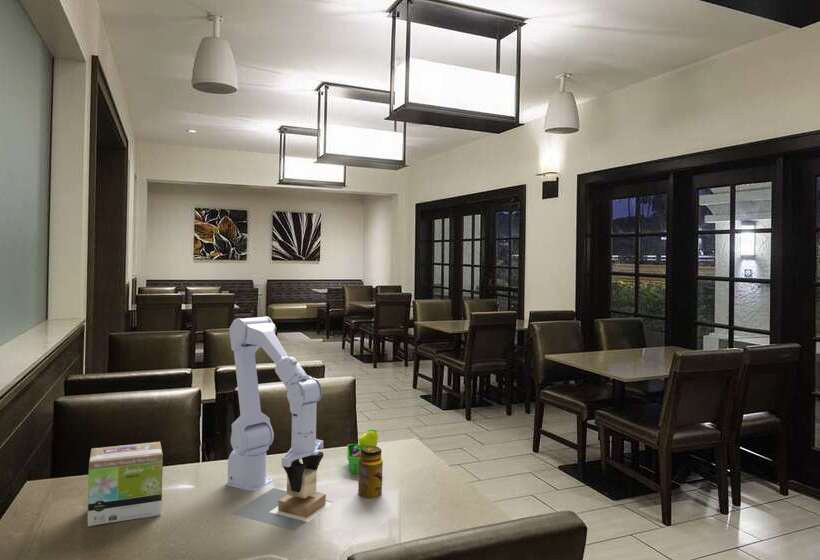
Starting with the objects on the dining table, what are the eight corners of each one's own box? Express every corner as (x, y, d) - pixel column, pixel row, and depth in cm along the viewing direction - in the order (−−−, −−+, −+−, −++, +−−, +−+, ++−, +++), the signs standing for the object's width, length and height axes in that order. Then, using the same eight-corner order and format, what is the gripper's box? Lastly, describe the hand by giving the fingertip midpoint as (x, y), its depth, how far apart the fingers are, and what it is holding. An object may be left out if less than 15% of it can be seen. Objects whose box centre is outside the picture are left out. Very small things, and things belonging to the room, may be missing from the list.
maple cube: (286, 494, 132) (286, 473, 132) (298, 487, 137) (299, 467, 137) (304, 498, 130) (304, 477, 130) (316, 490, 135) (316, 470, 135)
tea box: (86, 529, 121) (87, 462, 121) (89, 510, 130) (89, 447, 130) (162, 516, 128) (163, 452, 128) (159, 498, 137) (160, 439, 137)
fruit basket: (346, 460, 166) (347, 423, 166) (376, 460, 167) (377, 423, 167) (346, 475, 155) (347, 435, 155) (378, 475, 156) (379, 435, 156)
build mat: (230, 514, 130) (230, 513, 130) (273, 489, 144) (273, 487, 144) (296, 532, 122) (296, 530, 122) (335, 503, 137) (335, 502, 137)
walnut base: (278, 510, 132) (278, 500, 132) (298, 497, 139) (298, 487, 139) (306, 517, 128) (307, 507, 128) (325, 504, 136) (325, 494, 136)
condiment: (388, 497, 142) (389, 450, 141) (358, 504, 137) (359, 456, 137) (374, 487, 148) (375, 442, 148) (345, 493, 143) (346, 447, 143)
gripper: (300, 441, 125) (299, 501, 125) (334, 424, 138) (333, 479, 139) (274, 437, 128) (273, 495, 128) (310, 420, 141) (309, 473, 141)
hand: (302, 486), depth 134 cm, fingers closed on maple cube, 5 cm apart
